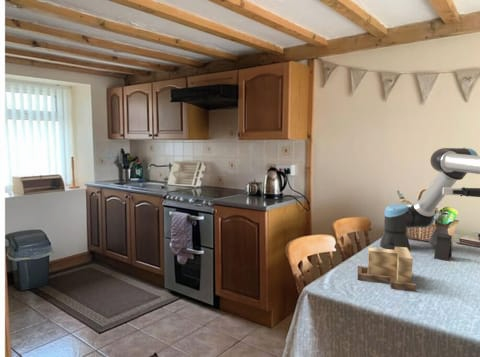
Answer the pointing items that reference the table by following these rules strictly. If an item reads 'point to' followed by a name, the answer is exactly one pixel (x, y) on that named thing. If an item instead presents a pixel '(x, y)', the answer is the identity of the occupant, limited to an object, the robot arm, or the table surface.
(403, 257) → the oak T block
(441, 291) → the table surface
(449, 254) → the phone stand
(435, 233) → the coffee pot
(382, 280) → the walnut T frame
